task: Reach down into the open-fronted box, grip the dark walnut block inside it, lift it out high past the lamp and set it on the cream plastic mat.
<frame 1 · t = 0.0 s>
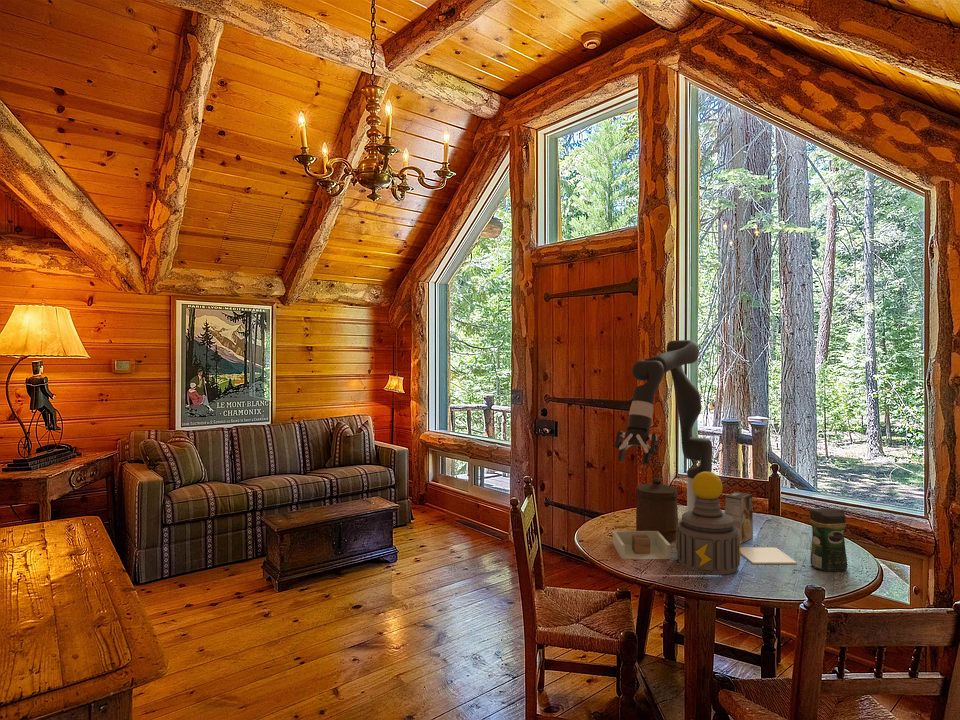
hand: (632, 463, 188), 31 cm above the table, tool tilted 20°, fingers open, 8 cm apart
open box: (641, 552, 192), on the table
wooden container: (657, 537, 209), on the table
walnut block: (641, 551, 192), resting on open box
coffee jar: (828, 568, 177), on the table
coffee box: (739, 539, 206), on the table
decorative lamp: (707, 565, 181), on the table
mat: (764, 556, 188), on the table
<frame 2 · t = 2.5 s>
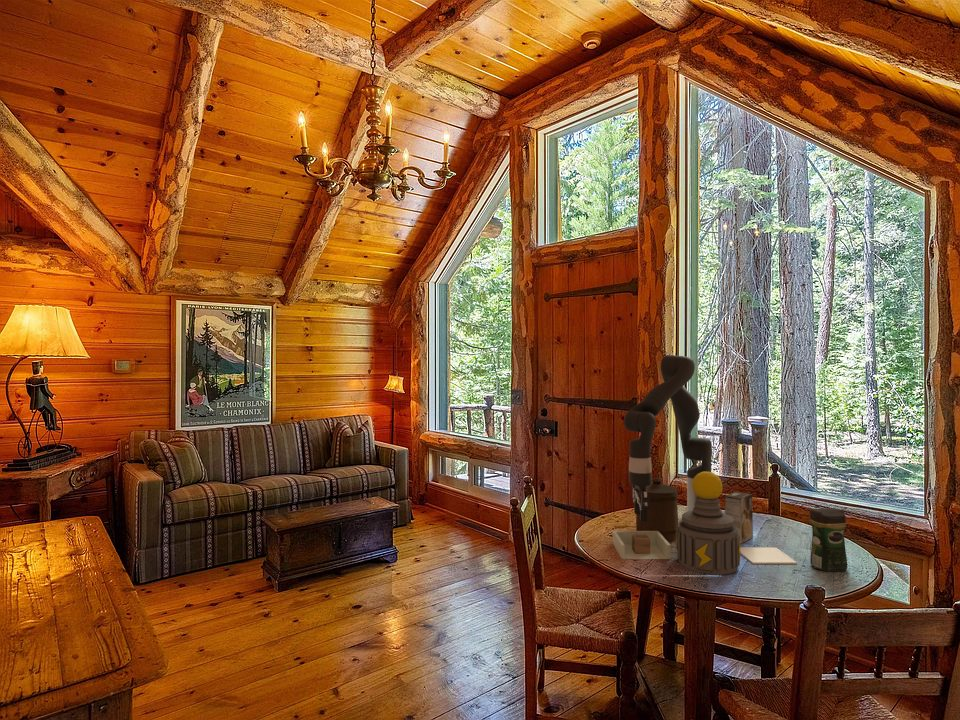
hand: (640, 517, 192), 12 cm above the table, tool pointing down, fingers open, 8 cm apart
nothing on the table moved.
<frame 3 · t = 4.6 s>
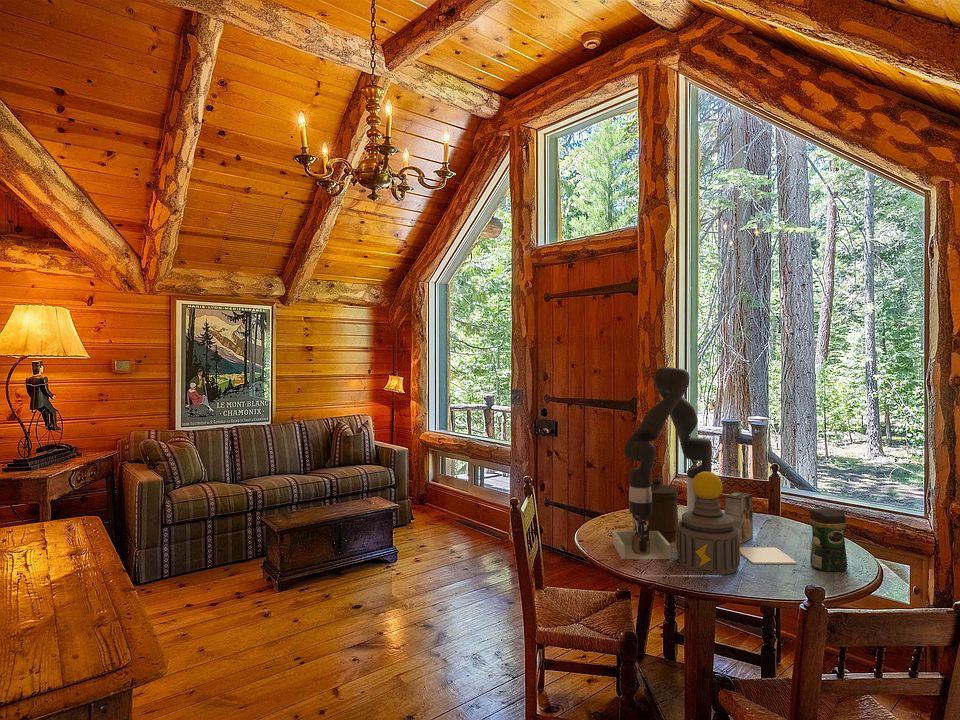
hand: (640, 548, 192), 1 cm above the table, tool pointing down, fingers closed on walnut block, 5 cm apart
walnut block: (641, 551, 192), point 1 cm above the table, touching gripper, open box
everything else where it was.
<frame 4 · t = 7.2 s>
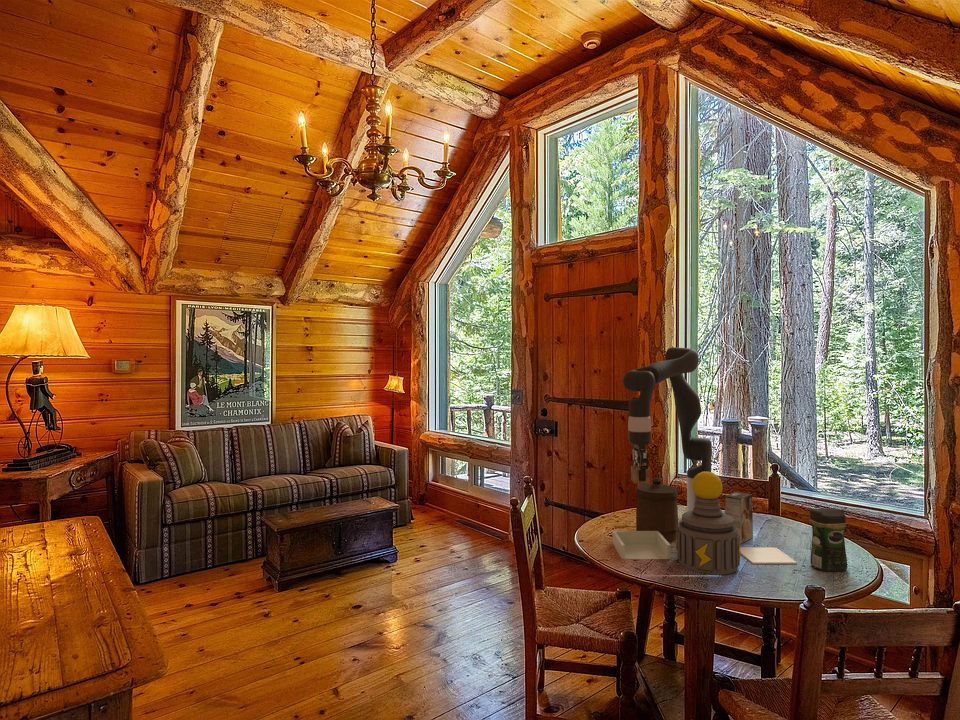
hand: (640, 479, 192), 25 cm above the table, tool pointing down, fingers closed on walnut block, 5 cm apart
walnut block: (640, 481, 192), point 24 cm above the table, touching gripper
everything else where it was.
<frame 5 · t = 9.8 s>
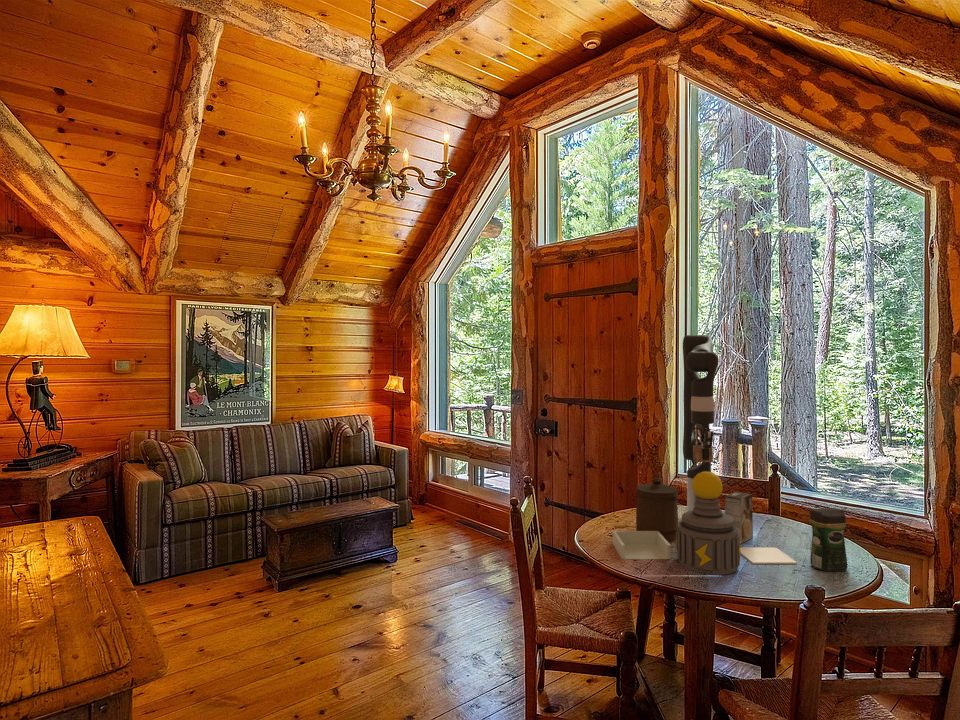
hand: (702, 458, 195), 31 cm above the table, tool pointing down, fingers closed on walnut block, 5 cm apart
walnut block: (702, 460, 195), point 31 cm above the table, touching gripper
everything else where it was.
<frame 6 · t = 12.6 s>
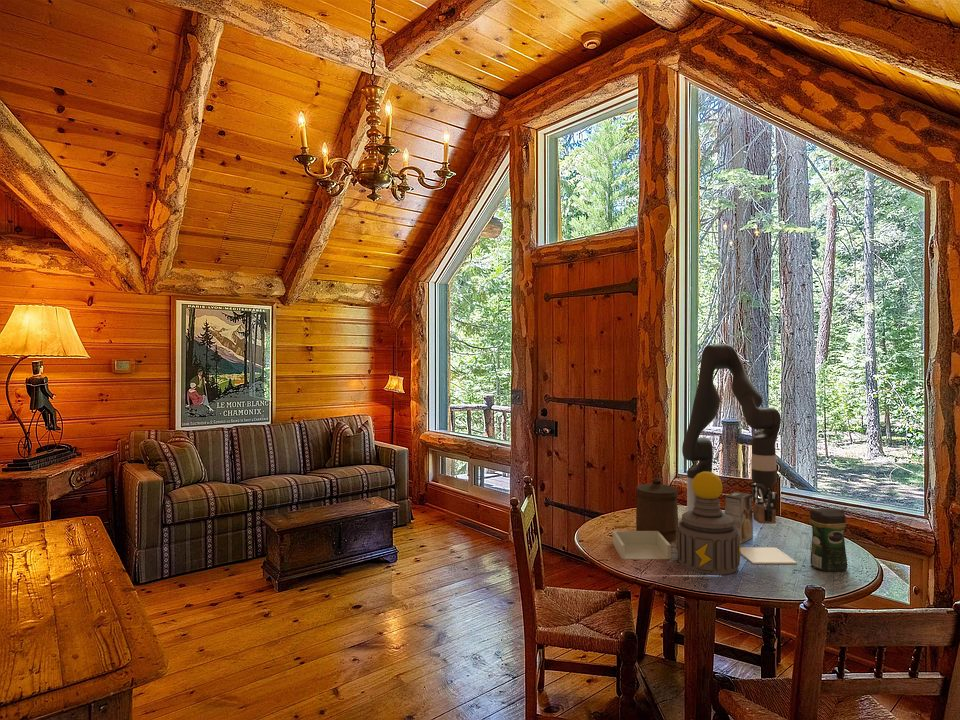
hand: (764, 518, 187), 13 cm above the table, tool pointing down, fingers closed on walnut block, 5 cm apart
walnut block: (764, 521, 187), point 12 cm above the table, touching gripper
everything else where it was.
when the fingers open (3 cm above the table, at t = 15.1 s): walnut block drops 1 cm, resting on mat.
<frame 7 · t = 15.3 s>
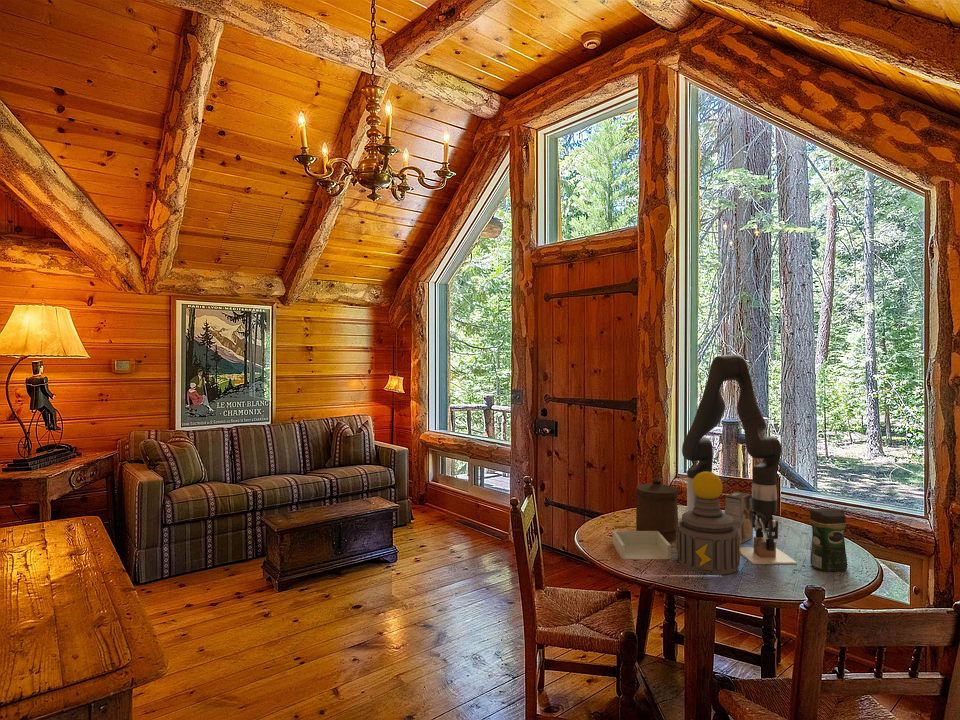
hand: (764, 546, 188), 3 cm above the table, tool pointing down, fingers open, 7 cm apart
walnut block: (764, 554, 188), resting on mat
everything else where it was.
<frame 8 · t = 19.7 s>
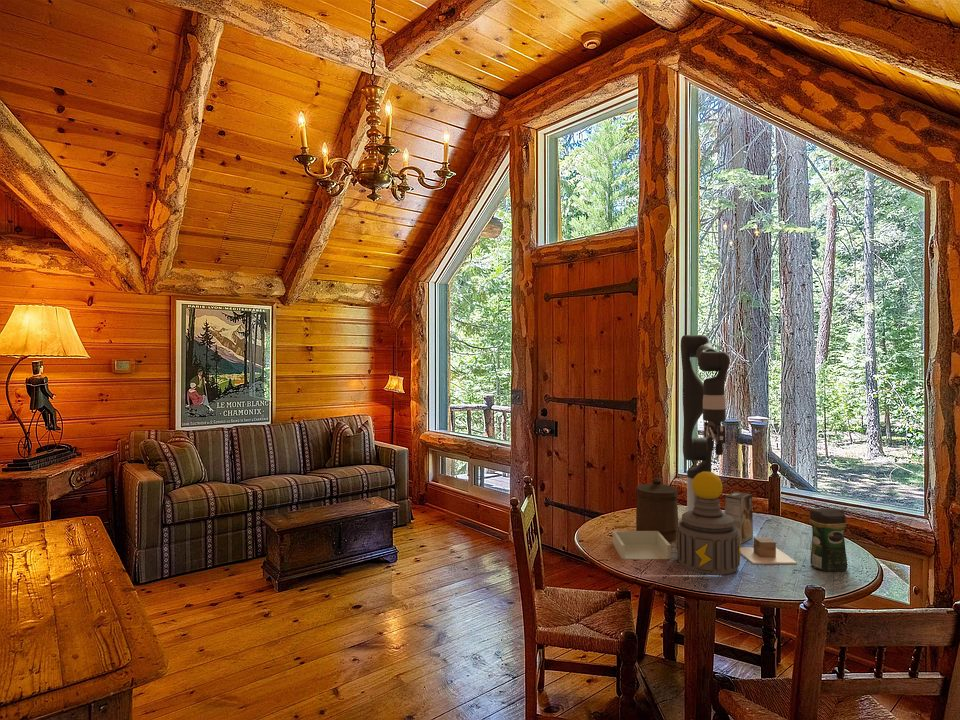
hand: (714, 452, 202), 32 cm above the table, tool pointing down, fingers open, 8 cm apart
nothing on the table moved.
at the end: walnut block inside the target area on the mat (0.0 cm from its centre), point 0.5 cm above the mat's base; walnut block tilted 0°; the gripper is holding nothing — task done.
